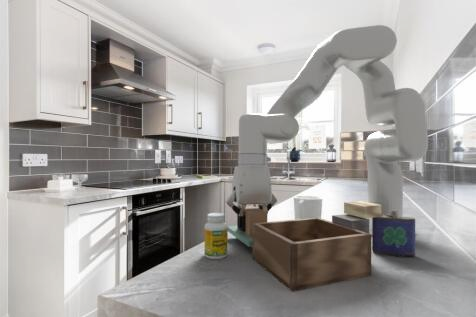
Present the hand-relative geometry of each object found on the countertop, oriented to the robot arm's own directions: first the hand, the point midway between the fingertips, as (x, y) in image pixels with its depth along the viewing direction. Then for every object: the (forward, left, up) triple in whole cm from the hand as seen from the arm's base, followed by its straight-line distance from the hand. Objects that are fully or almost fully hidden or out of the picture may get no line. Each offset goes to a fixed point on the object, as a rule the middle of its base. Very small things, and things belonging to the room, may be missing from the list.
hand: (251, 228), depth 71 cm
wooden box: (-7, +18, -4) cm, 20 cm away
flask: (-29, +19, -4) cm, 35 cm away
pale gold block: (-20, +18, +6) cm, 27 cm away
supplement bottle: (+11, +5, -4) cm, 13 cm away
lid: (-5, 0, -2) cm, 5 cm away
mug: (-23, -7, -4) cm, 24 cm away
